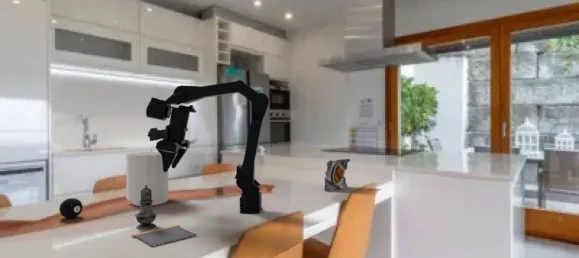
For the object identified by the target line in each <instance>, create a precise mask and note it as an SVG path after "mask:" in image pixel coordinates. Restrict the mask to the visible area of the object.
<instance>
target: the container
mask: <svg viewBox="0 0 579 258" xmlns="http://www.w3.org/2000/svg"><path fill="white" fill-rule="evenodd" d="M125 158H126V162H125V163H126V165H125V166H126V200H127V199H128V200H130V201H132V202H133V203H134V204H135V205H136V207H138V206H139V207H140V202H139V201H140V200H141V190H142V189H144V188H145V185H147V188H149V189H151V197H152V200H153V201H152V206H157V205H161V204H165V203H167V202H168V201H167V199H168V200H169V170H168V171H167V172H163V163H162V155H161V154H160V153H159V152H158V151H141V152H140V151H139V152H129V153H127V154H126V157H125ZM166 201H167V202H166Z"/></svg>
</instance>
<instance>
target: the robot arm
mask: <svg viewBox="0 0 579 258" xmlns="http://www.w3.org/2000/svg"><path fill="white" fill-rule="evenodd" d="M233 94H240V95H241V96H243V97H244V98H246V99H247V100H248V101H250V103H251V105H250V107H251V110H250V112H251V113H250V115H251V116H250V117H251V118H250V119H251V120H250V127H249V130H248V136H247V140H246V146H245V151H244V155H243V156H244V157H243V161H242V163H241V164H237V166H236V172H235V173H236V174H235V176H234V177H233V178H234V179H235V184H236V186H237V187H238V188H239V189H240V190H241V191H242V192H241V193H240V197H239V213H240V214H241V213H242V214H260V212H262V211H263V210H264V207H262V203H263V202H262V201H263V200H262V198H263V197H262V196H263V195H262V194H263V193H262V191H260V190H261V183H260V182H259V181H258V180H257V179H256V178H255V177H256V175H255V174H256V167H255V166H256V164H255V163H256V156H257V151H258V147H259V141H260V135H261V131H262V127H263V126H262V125H263V121H264V119H265V117H266V114H267V111H268V109H269V107H270V98H269V97H268V95H266V94H265V93H263V92H257V91H256V90H254V89H253V88H252V87H250V86H249V85H248V84H246V83H245V82H244V81H243V80H242V79H240V80H239V79H238V80H236V81H230V82H223V83H222V82H221V83H217V84H209V85H202V86H201V85H183V84H182V85H181V84H180V85H178V86H176V87H175V88H174V90H173V93H172V94H171V95H170V96H169V97H168V98H166V99H165V100H163V99H160V98H158V97H151V98H150V101H149V102H148V105H147V106H146V109H145V116H146V118H150V119H154V120H159V121H166V120H167V119H169V122H168V124H167V125H165V128H164V129H160V130H159V129H158V127H151V128H150V129H149V131H148V133H147V137H148V138H149V142H154V141H156V145H155V149H156V152H159V153H160V154H161V155H162V163H163V172H167V171H168V172H169V170H170V168H171V169H176V167H177V166H178V164H179V163H180V161H181V160H182V158H183V157H184V156H185V154H186V153H187V152H188V149H190V146H191V142H190V141H189V139H185V138H186V134H187V133H186V132H189V131H188V130H189V128H188V123H189V118H190V113H194V114H195V113H197V110H196V109H195V107H194V105H193V103H196V102H198V101H200V100H203V99H206V98H207V99H208V98H212V97H213V98H214V97H219V96H226V95H233ZM184 104H185V105H184ZM172 105H174V106H172ZM176 106H177V107H176Z"/></svg>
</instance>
